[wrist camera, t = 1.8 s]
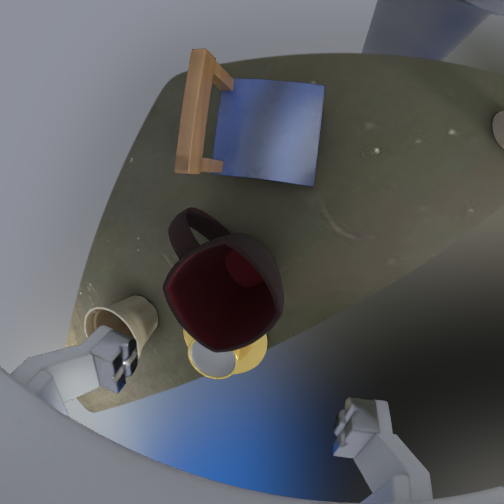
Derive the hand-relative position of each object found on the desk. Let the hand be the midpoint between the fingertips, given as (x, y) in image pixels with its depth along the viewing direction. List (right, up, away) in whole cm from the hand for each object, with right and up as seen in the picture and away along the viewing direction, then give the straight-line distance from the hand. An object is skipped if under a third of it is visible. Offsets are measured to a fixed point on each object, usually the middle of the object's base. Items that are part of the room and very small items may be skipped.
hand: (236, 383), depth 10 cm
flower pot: (-16, -5, +33) cm, 37 cm away
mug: (-1, +5, +27) cm, 28 cm away
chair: (+3, +18, +23) cm, 30 cm away
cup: (-3, -7, +30) cm, 31 cm away
